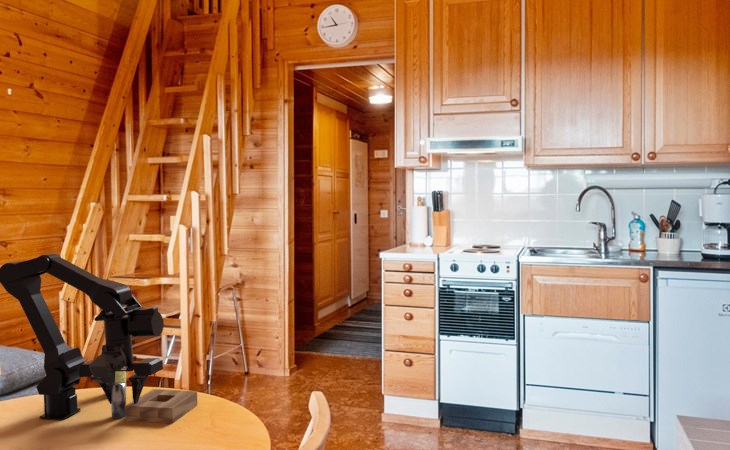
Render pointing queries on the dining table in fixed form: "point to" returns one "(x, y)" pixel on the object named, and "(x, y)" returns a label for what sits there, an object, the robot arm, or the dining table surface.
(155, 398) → the bore block
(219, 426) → the dining table surface
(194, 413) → the dining table surface
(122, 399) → the pin
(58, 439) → the dining table surface
